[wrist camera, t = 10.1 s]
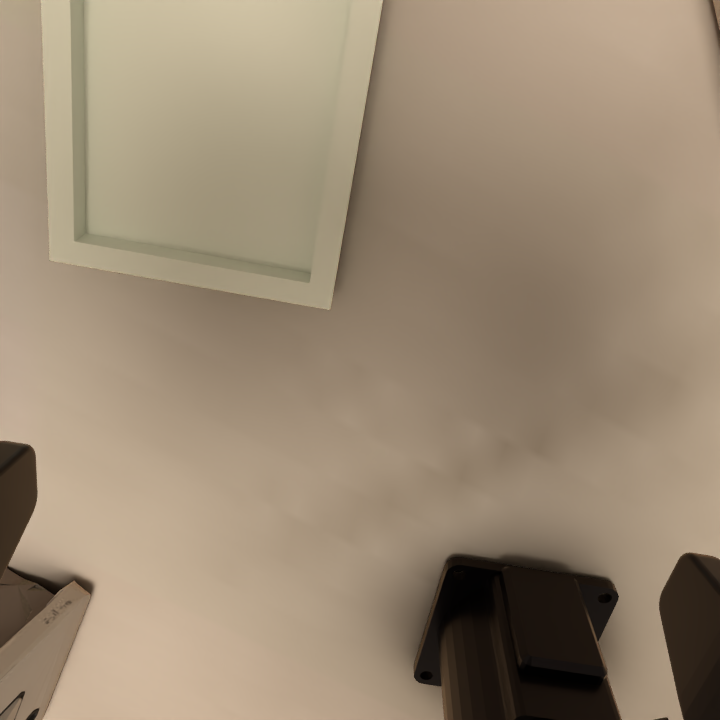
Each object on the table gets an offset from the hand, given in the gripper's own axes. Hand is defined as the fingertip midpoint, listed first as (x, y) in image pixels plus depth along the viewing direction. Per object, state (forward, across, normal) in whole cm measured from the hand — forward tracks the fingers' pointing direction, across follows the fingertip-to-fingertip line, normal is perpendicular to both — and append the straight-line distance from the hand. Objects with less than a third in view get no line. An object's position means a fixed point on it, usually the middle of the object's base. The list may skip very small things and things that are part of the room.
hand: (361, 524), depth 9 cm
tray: (+12, +5, -3) cm, 13 cm away
